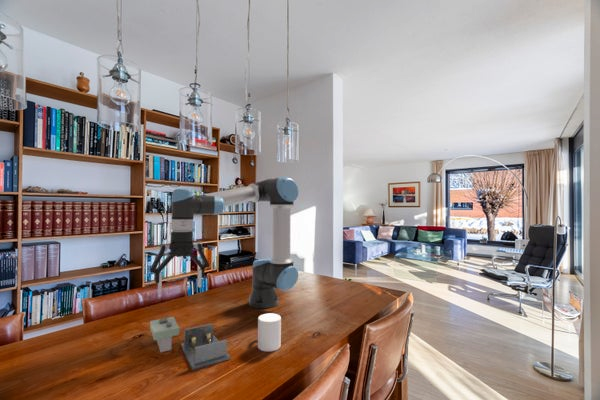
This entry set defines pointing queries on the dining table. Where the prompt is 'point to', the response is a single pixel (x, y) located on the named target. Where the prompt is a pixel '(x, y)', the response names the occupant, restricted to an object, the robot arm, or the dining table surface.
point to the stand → (165, 344)
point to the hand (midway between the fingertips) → (180, 289)
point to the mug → (269, 332)
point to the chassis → (203, 347)
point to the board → (164, 328)
